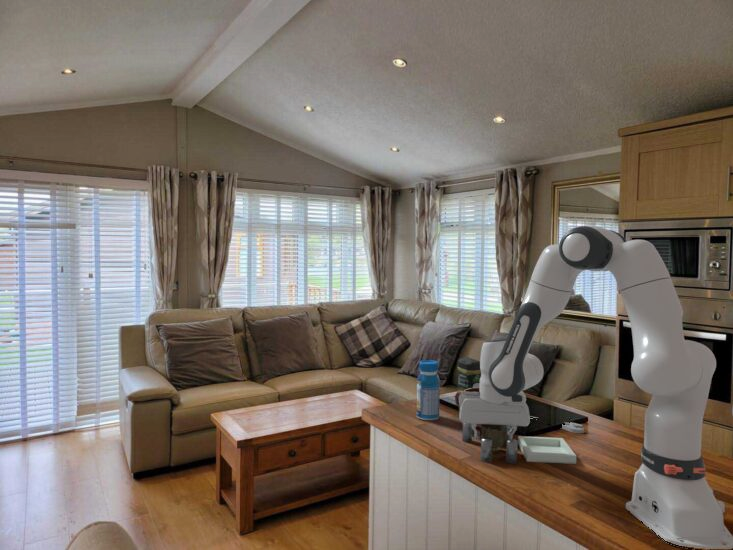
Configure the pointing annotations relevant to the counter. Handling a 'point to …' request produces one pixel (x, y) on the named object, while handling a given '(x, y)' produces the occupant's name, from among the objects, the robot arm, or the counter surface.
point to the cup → (494, 435)
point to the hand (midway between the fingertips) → (493, 438)
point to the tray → (546, 450)
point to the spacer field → (487, 444)
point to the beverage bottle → (428, 391)
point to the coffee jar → (468, 373)
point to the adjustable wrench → (571, 427)
